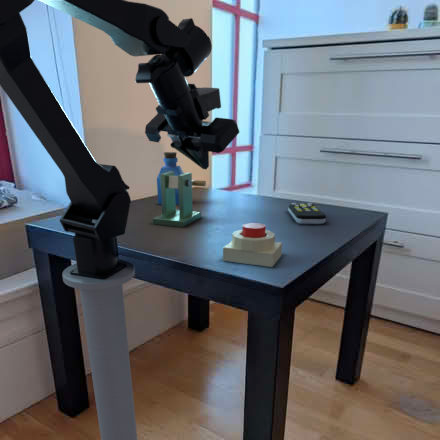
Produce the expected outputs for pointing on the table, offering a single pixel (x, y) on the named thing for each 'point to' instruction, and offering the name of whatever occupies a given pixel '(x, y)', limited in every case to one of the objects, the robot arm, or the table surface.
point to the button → (253, 230)
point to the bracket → (169, 206)
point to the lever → (174, 182)
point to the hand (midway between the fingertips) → (206, 167)
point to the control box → (253, 249)
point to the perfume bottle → (169, 166)
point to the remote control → (306, 213)
